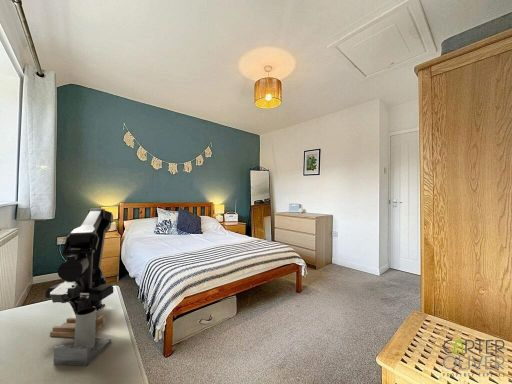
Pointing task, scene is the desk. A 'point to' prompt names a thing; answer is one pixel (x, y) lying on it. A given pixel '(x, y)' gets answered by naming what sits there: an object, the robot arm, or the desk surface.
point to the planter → (85, 327)
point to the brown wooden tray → (72, 327)
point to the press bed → (79, 353)
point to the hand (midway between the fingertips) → (79, 317)
